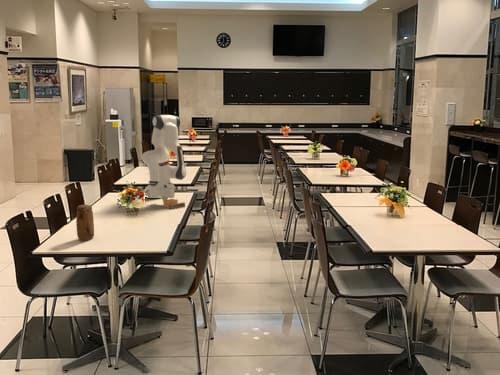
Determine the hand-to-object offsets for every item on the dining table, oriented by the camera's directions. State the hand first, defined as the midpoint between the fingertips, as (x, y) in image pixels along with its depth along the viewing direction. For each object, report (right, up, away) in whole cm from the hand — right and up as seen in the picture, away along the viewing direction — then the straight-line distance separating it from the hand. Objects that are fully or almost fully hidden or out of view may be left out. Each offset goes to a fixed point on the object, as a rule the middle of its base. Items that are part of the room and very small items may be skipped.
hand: (165, 202), depth 396 cm
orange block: (+5, -3, -4) cm, 7 cm away
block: (-31, -19, -93) cm, 100 cm away
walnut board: (+11, -4, -10) cm, 15 cm away
